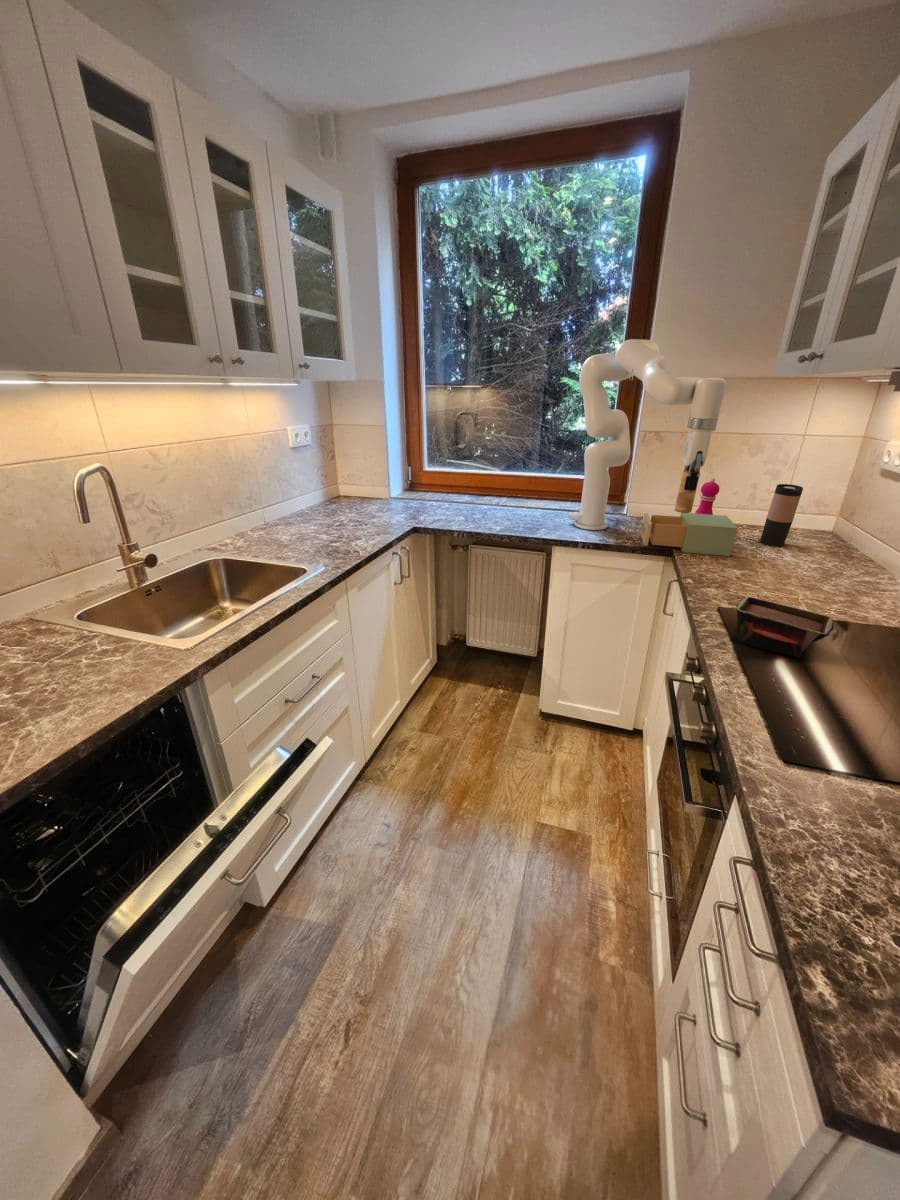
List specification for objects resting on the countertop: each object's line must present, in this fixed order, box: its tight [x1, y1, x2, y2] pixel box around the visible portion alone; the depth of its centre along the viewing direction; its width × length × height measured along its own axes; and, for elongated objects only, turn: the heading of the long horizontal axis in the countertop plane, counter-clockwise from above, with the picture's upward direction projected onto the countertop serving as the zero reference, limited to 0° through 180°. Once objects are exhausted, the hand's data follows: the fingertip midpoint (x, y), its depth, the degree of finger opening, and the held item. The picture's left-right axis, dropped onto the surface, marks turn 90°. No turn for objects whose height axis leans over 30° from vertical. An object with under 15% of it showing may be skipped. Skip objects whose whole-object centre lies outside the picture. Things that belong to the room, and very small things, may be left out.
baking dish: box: [736, 596, 835, 659], centre depth 104 cm, size 14×18×10 cm
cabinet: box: [679, 512, 738, 557], centre depth 160 cm, size 15×15×10 cm
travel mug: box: [760, 483, 804, 547], centre depth 162 cm, size 8×8×20 cm
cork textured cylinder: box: [674, 470, 701, 514], centre depth 144 cm, size 5×5×12 cm
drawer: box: [630, 512, 688, 548], centre depth 164 cm, size 18×13×8 cm
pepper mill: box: [693, 477, 721, 515], centre depth 174 cm, size 7×7×20 cm
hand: (688, 487), depth 144 cm, fingers closed on cork textured cylinder, 4 cm apart
